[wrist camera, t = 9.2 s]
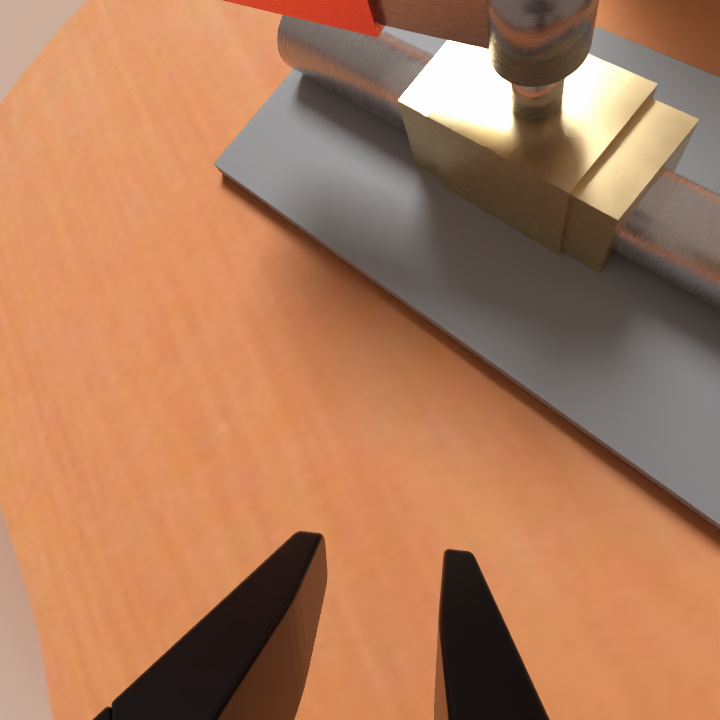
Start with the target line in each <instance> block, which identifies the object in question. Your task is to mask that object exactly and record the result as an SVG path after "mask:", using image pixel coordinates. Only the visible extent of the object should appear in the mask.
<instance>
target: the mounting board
mask: <svg viewBox="0 0 720 720" xmlns="http://www.w3.org/2000/svg"><path fill="white" fill-rule="evenodd" d="M383 30H384V31H386V32H388V33H390V34H392V35H394V36H396V37H398V38H400V39H402V40H404V41H406V42H408V43H410V44H412V45H414V46H417V47H419V48H421V49H423V50H425V51H427V52H429V53H431V54H433V55H436V54H437V53H438V51H439V50H440V49H441V48H442V47H443V45H444V44H445V43H446V42H447V41H448V40H445V39H441V38H436V37H432V36H428V35H423V34H419V33H415V32H410V31H406V30H401V29H397V28H393V27H388V26H385V27H384V28H383ZM589 54H590V55H592V56H594V57H597V58H599V59H601V60H604V61H606V62H608V63H611V64H613V65H615V66H618V67H620V68H622V69H625V70H627V71H629V72H632V73H634V74H636V75H639V76H641V77H643V78H646V79H648V80H650V81H653V82H655V83H657V84H658V85H657V88H656V91H655V94H654V97H653V99H655V100H657V101H659V102H661V103H664V104H666V105H668V106H670V107H673V108H675V109H677V110H680V111H682V112H684V113H686V114H689V115H691V116H693V117H695V118H698V119H699V121H698V124H697V126H696V128H695V130H694V132H693V134H692V136H691V138H690V140H689V143H688V145H687V147H686V149H685V151H684V153H683V155H682V157H681V159H680V161H679V164H678V166H677V168H676V170H675V173H677V174H679V175H681V176H683V177H685V178H687V179H689V180H691V181H693V182H696V183H698V184H700V185H702V186H704V187H706V188H708V189H710V190H712V191H714V192H716V193H718V194H720V77H719V76H716V75H714V74H711V73H709V72H706V71H704V70H701V69H699V68H696V67H694V66H692V65H689V64H687V63H684V62H682V61H679V60H677V59H674V58H672V57H669V56H667V55H665V54H662V53H660V52H657V51H655V50H652V49H650V48H647V47H645V46H642V45H640V44H638V43H635V42H633V41H630V40H628V39H625V38H623V37H620V36H618V35H615V34H613V33H611V32H608V31H606V30H603V29H601V28H598V27H596V26H595V27H594V33H593V39H592V45H591V49H590V52H589ZM214 165H215V166H216V167H217V168H218V170H219V171H220V172H221V173H222V174H223V175H225V176H226V177H228V178H229V179H230V180H232V181H233V182H235V183H236V184H237V185H239V186H240V187H242V188H243V189H244V190H246V191H247V192H249V193H250V194H251V195H253V196H254V197H256V198H257V199H258V200H260V201H261V202H262V203H264V204H265V205H267V206H268V207H269V208H271V209H272V210H274V211H275V212H276V213H278V214H279V215H281V216H282V217H283V218H285V219H286V220H288V221H289V222H290V223H292V224H293V225H295V226H296V227H297V228H299V229H300V230H302V231H303V232H304V233H306V234H307V235H309V236H310V237H311V238H313V239H314V240H316V241H317V242H318V243H320V244H321V245H322V246H324V247H325V248H327V249H328V250H329V251H331V252H332V253H334V254H335V255H336V256H338V257H339V258H341V259H342V260H343V261H345V262H346V263H348V264H349V265H350V266H352V267H353V268H355V269H356V270H357V271H359V272H360V273H362V274H363V275H364V276H366V277H367V278H369V279H370V280H371V281H373V282H374V283H376V284H377V285H378V286H380V287H381V288H382V289H384V290H385V291H387V292H388V293H389V294H391V295H392V296H394V297H395V298H396V299H398V300H399V301H401V302H402V303H403V304H405V305H406V306H408V307H409V308H410V309H412V310H413V311H415V312H416V313H417V314H419V315H420V316H422V317H423V318H424V319H426V320H427V321H429V322H430V323H431V324H433V325H434V326H436V327H437V328H438V329H440V330H441V331H442V332H444V333H445V334H447V335H448V336H449V337H451V338H452V339H454V340H455V341H456V342H458V343H459V344H461V345H462V346H463V347H465V348H466V349H468V350H469V351H470V352H472V353H473V354H475V355H476V356H477V357H479V358H480V359H482V360H483V361H484V362H486V363H487V364H489V365H490V366H491V367H493V368H494V369H496V370H497V371H498V372H500V373H501V374H502V375H504V376H505V377H507V378H508V379H509V380H511V381H512V382H514V383H515V384H516V385H518V386H519V387H521V388H522V389H523V390H525V391H526V392H528V393H529V394H530V395H532V396H533V397H535V398H536V399H537V400H539V401H540V402H542V403H543V404H544V405H546V406H547V407H549V408H550V409H551V410H553V411H554V412H556V413H557V414H558V415H560V416H561V417H563V418H564V419H565V420H567V421H568V422H569V423H571V424H572V425H574V426H575V427H576V428H578V429H579V430H581V431H582V432H583V433H585V434H586V435H588V436H589V437H590V438H592V439H593V440H595V441H596V442H597V443H599V444H600V445H602V446H603V447H604V448H606V449H607V450H609V451H610V452H611V453H613V454H614V455H616V456H617V457H618V458H620V459H621V460H623V461H624V462H625V463H627V464H628V465H629V466H631V467H632V468H634V469H635V470H636V471H638V472H639V473H641V474H642V475H643V476H645V477H646V478H648V479H649V480H650V481H652V482H653V483H655V484H656V485H657V486H659V487H660V488H662V489H663V490H664V491H666V492H667V493H669V494H670V495H671V496H673V497H674V498H676V499H677V500H678V501H680V502H681V503H683V504H684V505H685V506H687V507H688V508H689V509H691V510H692V511H694V512H695V513H696V514H698V515H699V516H701V517H702V518H703V519H705V520H706V521H708V522H709V523H710V524H712V525H713V526H715V527H716V528H717V529H719V530H720V310H719V309H718V308H716V307H714V306H712V305H711V304H709V303H707V302H705V301H704V300H702V299H700V298H698V297H696V296H695V295H693V294H691V293H689V292H688V291H686V290H684V289H682V288H681V287H679V286H677V285H675V284H674V283H672V282H670V281H668V280H666V279H665V278H663V277H661V276H659V275H658V274H656V273H654V272H652V271H651V270H649V269H647V268H645V267H643V266H642V265H640V264H638V263H636V262H635V261H633V260H631V259H629V258H628V257H626V256H624V255H622V254H621V253H619V252H616V253H615V254H614V255H613V257H612V258H611V259H610V260H609V262H608V263H607V264H606V265H605V267H604V268H603V269H602V270H601V272H600V273H598V272H596V271H594V270H592V269H591V268H589V267H587V266H586V265H584V264H582V263H581V262H579V261H577V260H576V259H574V258H572V257H570V256H569V255H567V254H565V253H564V252H561V253H560V254H559V255H557V254H555V253H554V252H552V251H550V250H549V249H547V248H545V247H543V246H542V245H540V244H538V243H537V242H535V241H533V240H532V239H530V238H528V237H527V236H525V235H523V234H522V233H520V232H518V231H517V230H515V229H513V228H512V227H510V226H508V225H506V224H505V223H503V222H501V221H500V220H498V219H496V218H495V217H493V216H491V215H490V214H488V213H486V212H485V211H483V210H481V209H480V208H478V207H476V206H475V205H473V204H471V203H469V202H468V201H466V200H464V199H463V198H461V197H459V196H458V195H456V194H454V193H453V192H451V191H449V190H448V189H446V188H444V187H443V186H442V181H441V180H440V179H438V178H437V177H435V176H433V175H431V174H430V173H428V172H426V171H425V170H423V169H421V168H420V167H418V166H416V163H415V159H414V156H413V152H412V149H411V145H410V142H409V138H408V135H407V132H405V131H403V130H402V129H400V128H398V127H396V126H394V125H393V124H391V123H389V122H387V121H386V120H384V119H382V118H380V117H379V116H377V115H375V114H373V113H371V112H370V111H368V110H366V109H364V108H363V107H361V106H359V105H357V104H356V103H354V102H352V101H350V100H349V99H347V98H345V97H343V96H341V95H340V94H338V93H336V92H334V91H333V90H331V89H329V88H327V87H326V86H324V85H322V84H320V83H319V82H317V81H315V80H313V79H311V78H310V77H308V76H306V75H304V74H303V73H301V72H299V71H297V70H296V69H293V70H292V71H291V73H290V74H289V75H288V76H287V77H286V78H285V80H284V81H283V82H282V83H281V84H280V86H279V87H278V88H277V89H276V90H275V92H274V93H273V94H272V95H271V96H270V97H269V99H268V100H267V101H266V102H265V103H264V105H263V106H262V107H261V108H260V109H259V111H258V112H257V113H256V114H255V115H254V117H253V118H252V119H251V120H250V121H249V122H248V124H247V125H246V126H245V127H244V128H243V130H242V131H241V132H240V133H239V134H238V136H237V137H236V138H235V139H234V140H233V142H232V143H231V144H230V145H229V146H228V147H227V149H226V150H225V151H224V152H223V153H222V155H221V156H220V157H219V158H218V159H217V161H216V162H215V163H214Z"/></svg>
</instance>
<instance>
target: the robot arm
mask: <svg viewBox="0 0 720 720" xmlns="http://www.w3.org/2000/svg"><path fill="white" fill-rule="evenodd" d="M326 584H327V560H326V547H325V539H324V536H323V535H322V534H320V533H314V532H305V531H298V532H296V533H295V534H294V535H292V536H291V537H290V538H289V539H288V540H287V541H286V542H285V543H284V544H283V545H282V546H281V547H279V548H278V549H277V550H276V551H275V552H274V553H273V554H272V555H271V556H270V557H269V558H268V559H266V560H265V561H264V562H263V563H262V564H261V565H260V566H259V567H258V568H257V569H256V570H255V571H253V572H252V573H251V574H250V575H249V576H248V577H247V578H246V579H245V580H244V581H243V582H242V583H240V584H239V585H238V586H237V587H236V588H235V589H234V590H233V591H232V592H231V593H230V594H229V595H227V596H226V597H225V598H224V599H223V600H222V601H221V602H220V603H219V604H218V605H217V606H216V607H214V608H213V609H212V610H211V611H210V612H209V613H208V614H207V615H206V616H205V617H204V618H203V619H201V620H200V621H199V622H198V623H197V624H196V625H195V626H194V627H193V628H192V629H191V630H190V631H188V632H187V633H186V634H185V635H184V636H183V637H182V638H181V639H180V640H179V641H178V642H177V643H175V644H174V645H173V646H172V647H171V648H170V649H169V650H168V651H167V652H166V653H165V654H164V655H162V656H161V657H160V658H159V659H158V660H157V661H156V662H155V663H154V664H153V665H152V666H151V667H149V668H148V669H147V670H146V671H145V672H144V673H143V674H142V675H141V676H140V677H139V678H138V679H136V680H135V681H134V682H133V683H132V684H131V685H130V686H129V687H128V688H127V689H126V690H125V691H123V692H122V693H121V694H120V695H119V696H118V697H117V698H116V699H115V700H114V701H113V702H112V707H106V708H105V709H104V710H103V711H101V712H100V713H99V714H98V715H97V716H96V717H95V718H94V719H93V720H294V719H295V716H296V713H297V710H298V707H299V704H300V700H301V697H302V694H303V690H304V687H305V683H306V678H307V674H308V670H309V665H310V661H311V656H312V651H313V647H314V642H315V637H316V632H317V628H318V623H319V618H320V613H321V609H322V604H323V599H324V595H325V590H326ZM434 720H550V719H549V717H548V715H547V713H546V711H545V709H544V706H543V704H542V702H541V700H540V698H539V696H538V693H537V691H536V689H535V687H534V685H533V682H532V680H531V678H530V676H529V674H528V672H527V669H526V667H525V665H524V663H523V661H522V659H521V656H520V654H519V652H518V650H517V648H516V646H515V643H514V641H513V639H512V637H511V635H510V632H509V630H508V628H507V626H506V624H505V622H504V619H503V617H502V615H501V613H500V611H499V609H498V606H497V604H496V602H495V600H494V598H493V595H492V593H491V591H490V589H489V587H488V585H487V582H486V580H485V578H484V576H483V574H482V572H481V569H480V567H479V565H478V563H477V561H476V559H475V557H474V555H473V554H472V553H471V552H469V551H461V550H453V549H447V550H445V552H444V556H443V568H442V580H441V592H440V604H439V620H438V640H437V660H436V680H435V702H434Z"/></svg>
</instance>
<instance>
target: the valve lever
mask: <svg viewBox="0 0 720 720" xmlns="http://www.w3.org/2000/svg"><path fill="white" fill-rule="evenodd" d="M223 1H228V2H232V3H236V4H240V5H244V6H248V7H253V8H257V9H261V10H265V11H269V12H273V13H278V14H282V15H286V16H290V17H294V18H298V19H303V20H307V21H311V22H315V23H319V24H324V25H328V26H332V27H336V28H340V29H344V30H349V31H353V32H357V33H361V34H365V35H369V36H374V37H379V35H380V34H381V32H382V30H383V28H384V27H385V26H388V27H393V28H397V29H401V30H406V31H410V32H415V33H419V34H423V35H428V36H432V37H436V38H441V39H445V40H449V41H454V42H458V43H462V44H467V45H471V46H475V47H480V48H484V49H489V58H490V62H491V65H492V67H493V69H494V70H495V72H496V73H497V74H498V75H499V76H500V77H501V78H503V79H504V80H506V81H507V82H510V83H512V84H515V85H518V86H523V87H540V86H546V85H550V84H553V83H556V82H558V81H560V80H563V79H565V78H566V77H568V76H569V75H571V74H572V73H573V72H575V71H576V70H577V69H578V68H579V67H580V66H581V65H582V64H583V62H584V61H585V59H586V58H587V56H588V54H589V52H590V49H591V45H592V39H593V33H594V27H595V21H596V15H597V9H598V3H599V0H223Z"/></svg>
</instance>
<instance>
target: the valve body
mask: <svg viewBox="0 0 720 720" xmlns="http://www.w3.org/2000/svg"><path fill="white" fill-rule="evenodd" d="M277 42H278V50H279V53H280V56H281V58H282V59H283V61H284V62H285V63H286V64H287V65H288V66H290V67H292V68H294V69H296V70H297V71H299V72H301V73H303V74H304V75H306V76H308V77H310V78H311V79H313V80H315V81H317V82H319V83H320V84H322V85H324V86H326V87H327V88H329V89H331V90H333V91H334V92H336V93H338V94H340V95H341V96H343V97H345V98H347V99H349V100H350V101H352V102H354V103H356V104H357V105H359V106H361V107H363V108H364V109H366V110H368V111H370V112H371V113H373V114H375V115H377V116H379V117H380V118H382V119H384V120H386V121H387V122H389V123H391V124H393V125H394V126H396V127H398V128H400V129H402V130H403V131H405V132H407V135H408V138H409V142H410V145H411V149H412V152H413V156H414V159H415V163H416V166H418V167H420V168H421V169H423V170H425V171H426V172H428V173H430V174H431V175H433V176H435V177H437V178H438V179H440V180H441V181H442V186H443V187H444V188H446V189H448V190H449V191H451V192H453V193H454V194H456V195H458V196H459V197H461V198H463V199H464V200H466V201H468V202H469V203H471V204H473V205H475V206H476V207H478V208H480V209H481V210H483V211H485V212H486V213H488V214H490V215H491V216H493V217H495V218H496V219H498V220H500V221H501V222H503V223H505V224H506V225H508V226H510V227H512V228H513V229H515V230H517V231H518V232H520V233H522V234H523V235H525V236H527V237H528V238H530V239H532V240H533V241H535V242H537V243H538V244H540V245H542V246H543V247H545V248H547V249H549V250H550V251H552V252H554V253H555V254H557V255H559V254H560V253H561V252H564V253H565V254H567V255H569V256H570V257H572V258H574V259H576V260H577V261H579V262H581V263H582V264H584V265H586V266H587V267H589V268H591V269H592V270H594V271H596V272H598V273H600V272H601V270H602V269H603V268H604V267H605V265H606V264H607V263H608V262H609V260H610V259H611V258H612V257H613V255H614V254H615V253H616V252H619V253H621V254H622V255H624V256H626V257H628V258H629V259H631V260H633V261H635V262H636V263H638V264H640V265H642V266H643V267H645V268H647V269H649V270H651V271H652V272H654V273H656V274H658V275H659V276H661V277H663V278H665V279H666V280H668V281H670V282H672V283H674V284H675V285H677V286H679V287H681V288H682V289H684V290H686V291H688V292H689V293H691V294H693V295H695V296H696V297H698V298H700V299H702V300H704V301H705V302H707V303H709V304H711V305H712V306H714V307H716V308H718V309H719V310H720V194H718V193H716V192H714V191H712V190H710V189H708V188H706V187H704V186H702V185H700V184H698V183H696V182H693V181H691V180H689V179H687V178H685V177H683V176H681V175H679V174H677V173H675V170H676V168H677V166H678V164H679V161H680V159H681V157H682V155H683V153H684V151H685V149H686V147H687V145H688V143H689V140H690V138H691V136H692V134H693V132H694V130H695V128H696V126H697V124H698V121H699V119H698V118H695V117H693V116H691V115H689V114H686V113H684V112H682V111H680V110H677V109H675V108H673V107H670V106H668V105H666V104H664V103H661V102H659V101H657V100H655V99H653V97H654V94H655V91H656V88H657V85H658V84H657V83H655V82H653V81H650V80H648V79H646V78H643V77H641V76H639V75H636V74H634V73H632V72H629V71H627V70H625V69H622V68H620V67H618V66H615V65H613V64H611V63H608V62H606V61H604V60H601V59H599V58H597V57H594V56H592V55H590V54H588V56H587V58H586V59H585V61H584V62H583V64H582V65H581V66H580V67H579V68H578V69H577V70H576V71H575V72H573V73H572V74H571V75H569V76H568V77H566V78H565V79H563V80H560V81H558V82H556V83H553V84H550V85H546V86H540V87H523V86H518V85H515V84H512V83H510V82H507V81H506V80H504V79H503V78H501V77H500V76H499V75H498V74H497V73H496V72H495V70H494V69H493V67H492V65H491V62H490V58H489V49H484V48H480V47H475V46H471V45H467V44H462V43H458V42H454V41H449V40H448V41H447V42H446V43H445V44H444V45H443V47H442V48H441V49H440V50H439V51H438V53H437V54H436V55H433V54H431V53H429V52H427V51H425V50H423V49H421V48H419V47H417V46H414V45H412V44H410V43H408V42H406V41H404V40H402V39H400V38H398V37H396V36H394V35H392V34H390V33H388V32H386V31H384V30H382V32H381V34H380V35H379V37H374V36H369V35H365V34H361V33H357V32H353V31H349V30H344V29H340V28H336V27H332V26H328V25H324V24H319V23H315V22H311V21H307V20H303V19H298V18H294V17H290V16H286V15H283V16H282V19H281V21H280V25H279V29H278V39H277Z"/></svg>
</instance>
